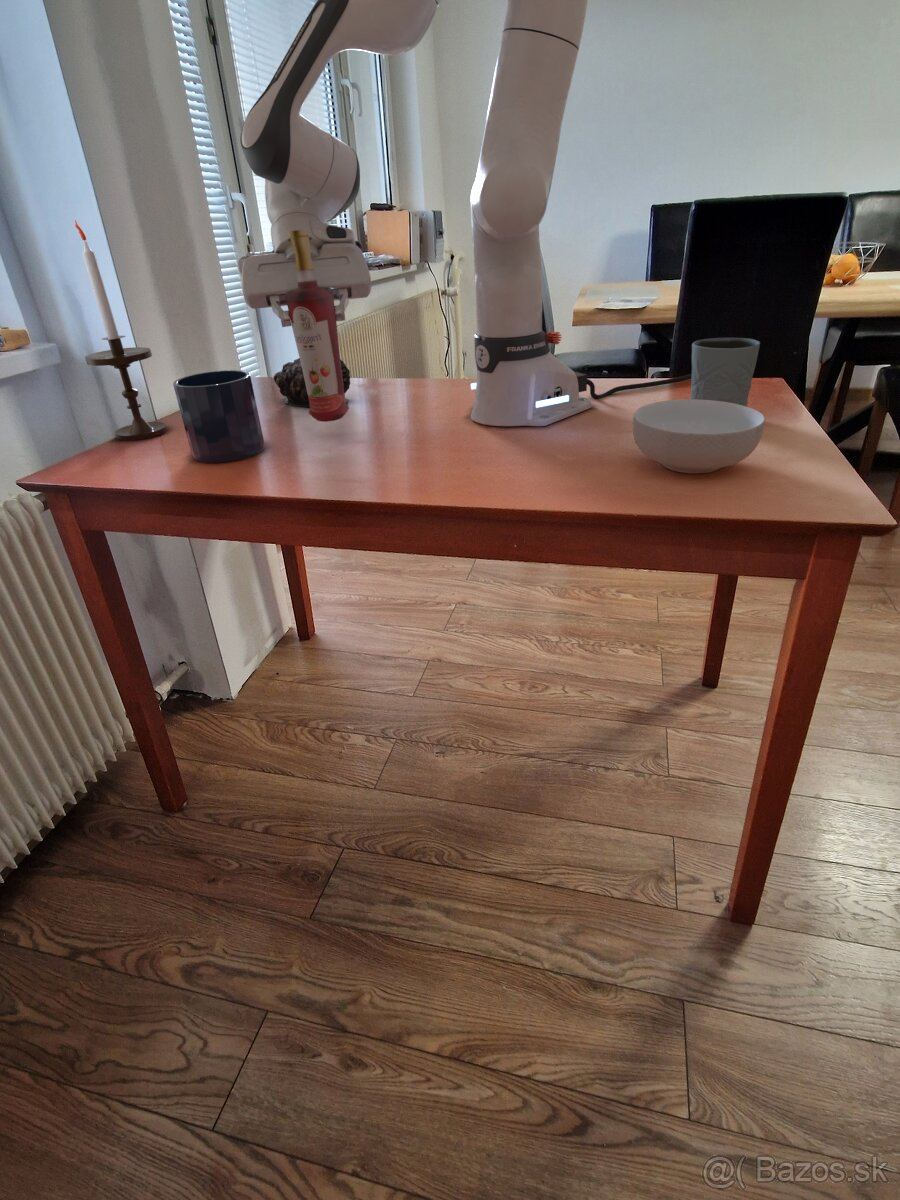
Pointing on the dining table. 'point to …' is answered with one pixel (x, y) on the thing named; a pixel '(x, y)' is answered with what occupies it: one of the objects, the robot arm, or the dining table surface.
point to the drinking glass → (723, 369)
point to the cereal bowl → (697, 433)
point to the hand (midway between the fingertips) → (313, 321)
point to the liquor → (316, 336)
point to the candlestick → (118, 354)
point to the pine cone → (301, 383)
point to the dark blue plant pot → (220, 415)
